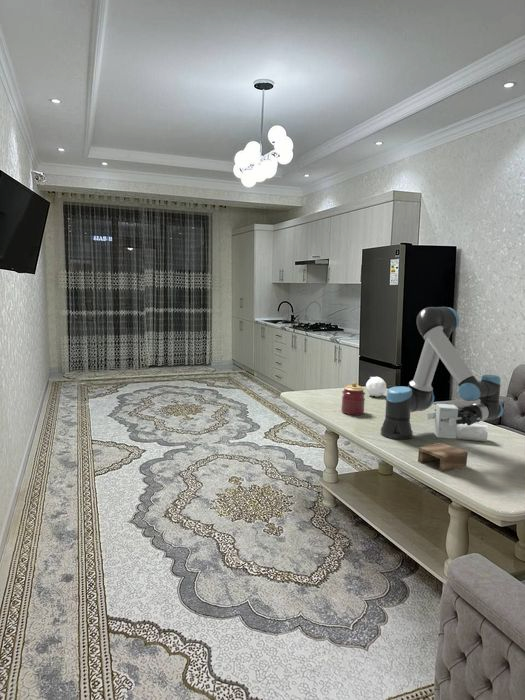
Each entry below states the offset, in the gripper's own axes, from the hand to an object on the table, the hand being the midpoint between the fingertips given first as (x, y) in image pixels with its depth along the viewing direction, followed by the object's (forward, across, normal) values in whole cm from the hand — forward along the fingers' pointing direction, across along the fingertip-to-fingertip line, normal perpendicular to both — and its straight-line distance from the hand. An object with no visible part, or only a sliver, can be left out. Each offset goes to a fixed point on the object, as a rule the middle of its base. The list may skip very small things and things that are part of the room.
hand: (438, 419), depth 197 cm
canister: (-24, +79, -19) cm, 85 cm away
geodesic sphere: (-66, +105, -19) cm, 126 cm away
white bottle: (-42, +17, -20) cm, 49 cm away
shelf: (-4, 0, -20) cm, 20 cm away
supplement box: (-4, 0, -8) cm, 9 cm away
